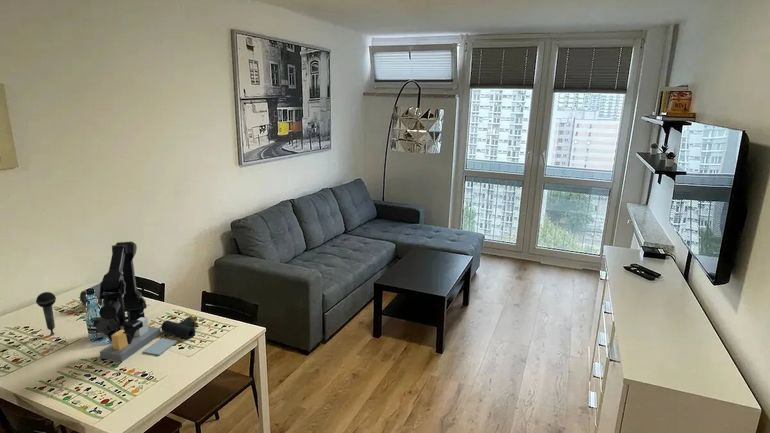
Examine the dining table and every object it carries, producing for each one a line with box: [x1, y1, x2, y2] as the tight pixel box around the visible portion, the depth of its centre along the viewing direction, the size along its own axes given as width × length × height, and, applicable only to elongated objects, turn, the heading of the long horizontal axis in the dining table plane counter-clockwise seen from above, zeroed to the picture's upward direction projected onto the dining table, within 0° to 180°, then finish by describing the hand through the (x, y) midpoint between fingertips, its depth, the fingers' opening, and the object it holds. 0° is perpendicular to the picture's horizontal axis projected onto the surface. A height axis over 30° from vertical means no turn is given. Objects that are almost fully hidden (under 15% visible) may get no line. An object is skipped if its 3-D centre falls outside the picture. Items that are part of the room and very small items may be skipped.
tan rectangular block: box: [111, 329, 128, 350], centre depth 178 cm, size 3×5×9 cm, turn 167°
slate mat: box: [142, 337, 178, 357], centre depth 184 cm, size 8×11×1 cm
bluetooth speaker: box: [79, 275, 124, 307], centre depth 224 cm, size 23×9×10 cm, turn 159°
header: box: [99, 325, 162, 363], centre depth 184 cm, size 10×22×3 cm, turn 167°
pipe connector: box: [160, 315, 199, 340], centre depth 197 cm, size 12×5×15 cm
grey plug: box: [134, 317, 149, 337], centre depth 189 cm, size 3×5×9 cm, turn 167°
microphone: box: [35, 291, 57, 336], centre depth 188 cm, size 7×7×20 cm
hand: (120, 342), depth 178 cm, fingers open, 8 cm apart
